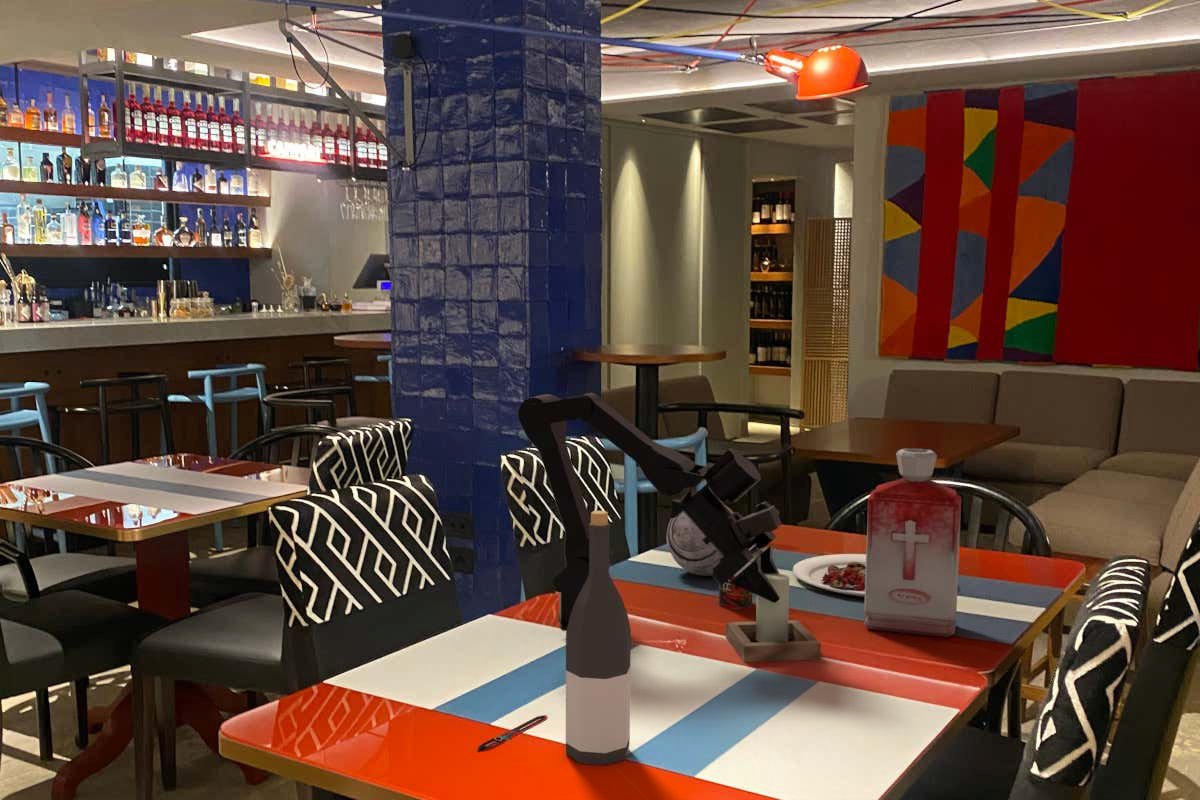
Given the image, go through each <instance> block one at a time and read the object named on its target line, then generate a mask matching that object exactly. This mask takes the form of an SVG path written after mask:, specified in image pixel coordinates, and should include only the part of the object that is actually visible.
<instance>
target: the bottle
mask: <svg viewBox="0 0 1200 800" xmlns="http://www.w3.org/2000/svg"><path fill="white" fill-rule="evenodd" d="M895 455H896V460H897V465H898V466H897V467H898V473H899V474H900V476H901V477H902V478H899V479H895V480H892V481H889V482H886V483H882V484H879V485H877V486H876V487H875V489H874V490H872V491H871V493H870V494H869V495H868V499H867V515H866V516H867V520H866V525H867V526H866V547H865V549H866V550H865V554H866V576H865V597H864V610H863V611H864V613H865V615H866V618H865V621H864V622H863V625H864V626H866V627H867V628H868V629H869V630H873V631H874V630H875V631H885V632H891V633H892V632H893V633H903V634H910V635H911V634H912V635H919V636H920V635H922V636H932V637H940V638H950V637H952V636H953V635H954V634H955V633H956V625H957V620H956V616H957V609H958V607H957V605H958V589H959V588H958V585H959V583H958V582H959V562H960V558H959V556H960V536H961V535H960V534H961V512H962V511H961V510H962V496H960V495H959V494H958V493H957V490H955V489H954V488H950V487H948V486H946V485H943V484H941V483H938V482H936V481H934V480H931V477H932V476H933V474H934V469H935V465H936V462H937V458H938V454H936V452H935V451H933V450H932V449H924V448H902V449H898V451H897V452H896V453H895Z"/></svg>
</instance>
